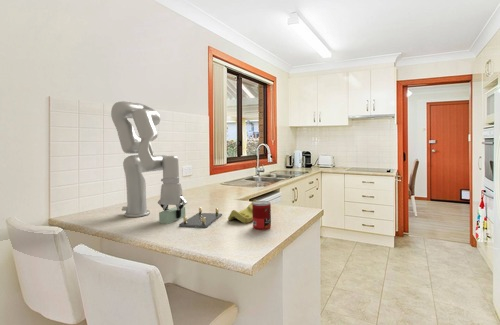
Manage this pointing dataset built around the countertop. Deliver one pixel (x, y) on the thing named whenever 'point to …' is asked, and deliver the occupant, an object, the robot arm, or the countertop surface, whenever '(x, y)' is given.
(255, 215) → the canned food
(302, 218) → the countertop surface
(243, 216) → the plastic component
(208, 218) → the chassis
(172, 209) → the board block
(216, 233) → the countertop surface
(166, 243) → the countertop surface
